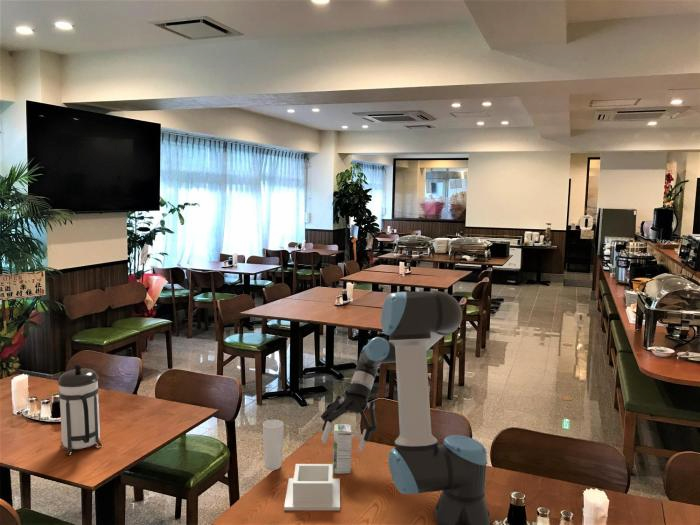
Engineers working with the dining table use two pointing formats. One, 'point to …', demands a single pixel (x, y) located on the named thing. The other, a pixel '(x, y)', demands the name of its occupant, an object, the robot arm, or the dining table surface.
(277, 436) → the drinking glass
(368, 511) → the dining table surface
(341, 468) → the syrup box
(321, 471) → the holder
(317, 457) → the dining table surface
